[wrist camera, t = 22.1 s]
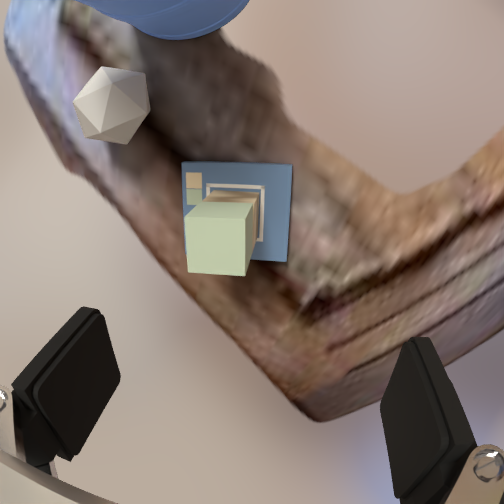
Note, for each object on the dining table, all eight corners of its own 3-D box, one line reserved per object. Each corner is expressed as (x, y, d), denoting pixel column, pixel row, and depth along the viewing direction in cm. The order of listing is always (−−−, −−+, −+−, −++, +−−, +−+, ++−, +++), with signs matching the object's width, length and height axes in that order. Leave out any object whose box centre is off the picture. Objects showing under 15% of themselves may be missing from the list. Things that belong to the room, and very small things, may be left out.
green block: (252, 203, 30) (245, 219, 26) (252, 252, 32) (245, 276, 28) (200, 201, 31) (184, 216, 26) (202, 249, 33) (188, 272, 28)
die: (160, 62, 32) (84, 48, 25) (178, 112, 30) (89, 100, 23) (129, 108, 37) (60, 103, 30) (143, 159, 35) (65, 158, 28)
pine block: (259, 192, 35) (254, 204, 30) (257, 235, 37) (252, 253, 32) (213, 190, 35) (201, 201, 31) (213, 232, 37) (202, 249, 33)
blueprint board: (292, 164, 34) (292, 166, 33) (286, 257, 39) (286, 262, 37) (185, 161, 35) (181, 162, 34) (188, 250, 40) (185, 254, 39)
